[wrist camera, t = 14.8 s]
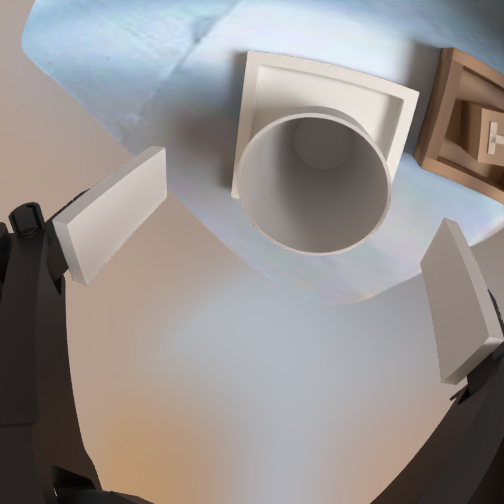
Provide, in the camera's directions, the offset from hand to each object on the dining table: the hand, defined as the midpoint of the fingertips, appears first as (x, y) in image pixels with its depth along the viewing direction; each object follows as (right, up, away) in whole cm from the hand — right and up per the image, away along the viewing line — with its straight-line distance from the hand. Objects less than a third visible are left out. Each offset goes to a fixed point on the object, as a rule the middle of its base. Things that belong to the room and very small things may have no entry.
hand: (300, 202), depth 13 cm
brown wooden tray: (+17, +8, +5) cm, 19 cm away
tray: (+3, +7, +10) cm, 13 cm away
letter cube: (+17, +8, +4) cm, 19 cm away
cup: (+4, +7, +10) cm, 13 cm away
